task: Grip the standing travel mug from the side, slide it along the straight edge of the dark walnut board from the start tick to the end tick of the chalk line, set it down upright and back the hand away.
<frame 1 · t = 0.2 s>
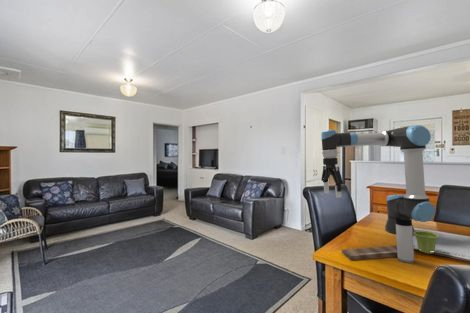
hand: (332, 195, 130), 28 cm above the table, tool pointing down, fingers open, 13 cm apart
walnut board: (375, 254, 115), on the table
travel mug: (405, 260, 108), on the table
plant pot: (426, 251, 116), on the table
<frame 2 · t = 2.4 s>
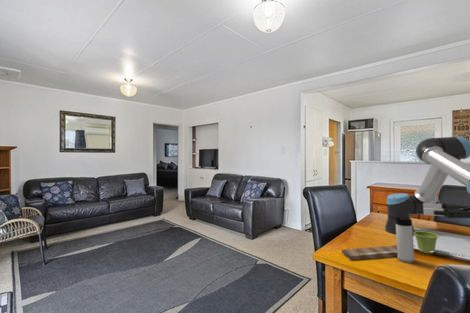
hand: (423, 208, 104), 24 cm above the table, tool horizontal, fingers open, 13 cm apart
nothing on the table moved.
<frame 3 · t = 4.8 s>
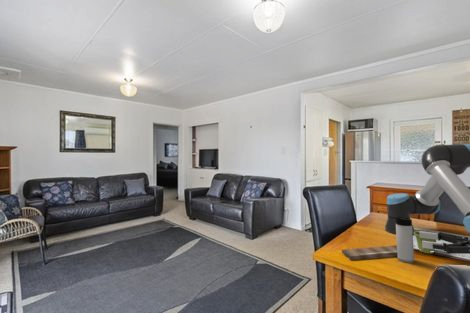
hand: (420, 239, 104), 11 cm above the table, tool horizontal, fingers open, 13 cm apart
nothing on the table moved.
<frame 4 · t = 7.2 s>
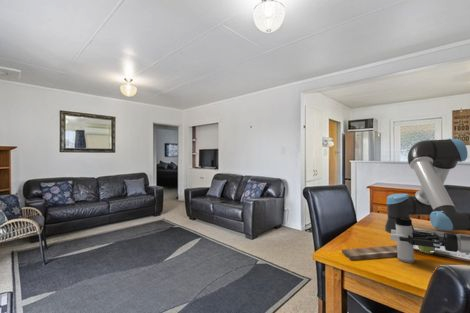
hand: (391, 234, 111), 11 cm above the table, tool horizontal, fingers closed on travel mug, 6 cm apart
travel mug: (405, 260, 108), on the table, touching gripper
everything else where it was.
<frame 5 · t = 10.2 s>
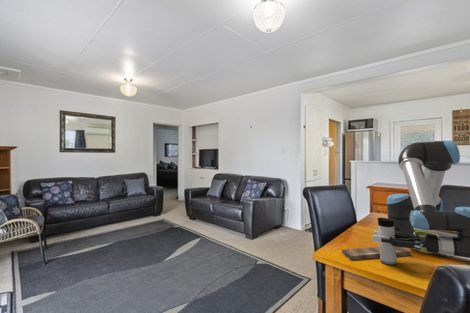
hand: (373, 236, 109), 11 cm above the table, tool horizontal, fingers closed on travel mug, 6 cm apart
travel mug: (388, 262, 106), on the table, touching gripper
everything else where it was.
when the fingers open (11 cm above the table, at t = 13.3 s): travel mug stays where it is, on the table.
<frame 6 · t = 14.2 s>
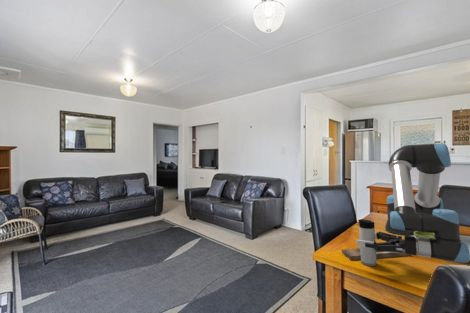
hand: (358, 238, 109), 11 cm above the table, tool horizontal, fingers open, 13 cm apart
travel mug: (368, 263, 106), on the table
everything else where it was.
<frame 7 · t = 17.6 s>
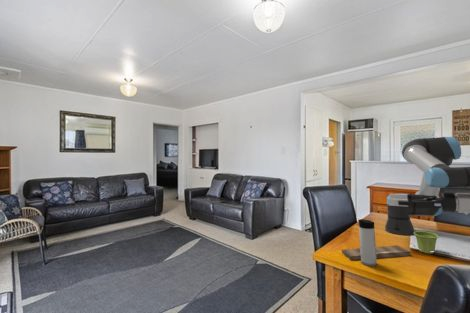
hand: (389, 199, 102), 30 cm above the table, tool horizontal, fingers open, 13 cm apart
nothing on the table moved.
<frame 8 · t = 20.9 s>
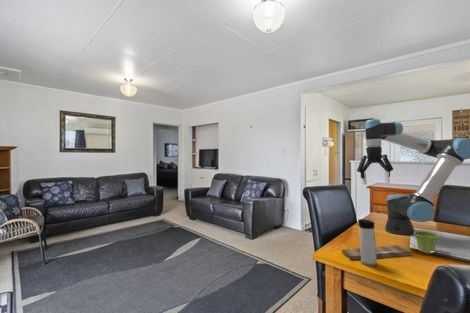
hand: (375, 183, 133), 33 cm above the table, tool pointing down, fingers open, 13 cm apart
nothing on the table moved.
at the end: travel mug inside the target area (0.0 cm from its centre), on the table; travel mug tilted 0°; the gripper is holding nothing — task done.
